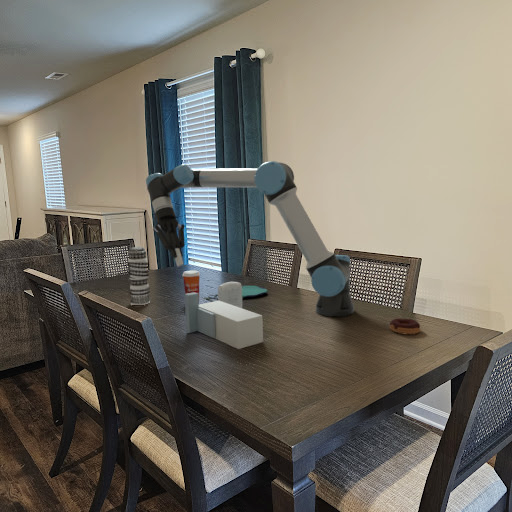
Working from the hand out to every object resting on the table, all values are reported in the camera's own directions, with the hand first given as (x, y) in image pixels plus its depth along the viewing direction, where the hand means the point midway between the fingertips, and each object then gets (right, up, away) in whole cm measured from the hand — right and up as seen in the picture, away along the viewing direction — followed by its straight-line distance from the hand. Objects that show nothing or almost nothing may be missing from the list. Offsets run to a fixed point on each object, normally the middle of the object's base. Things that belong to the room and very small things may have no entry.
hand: (180, 265), depth 174 cm
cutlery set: (+20, -16, +39) cm, 46 cm away
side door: (+10, -23, -17) cm, 30 cm away
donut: (+80, -23, -16) cm, 85 cm away
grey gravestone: (+19, -20, +12) cm, 30 cm away
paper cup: (+1, -17, +27) cm, 32 cm away
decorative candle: (-22, -18, +28) cm, 40 cm away
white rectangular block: (+19, -24, -17) cm, 35 cm away
